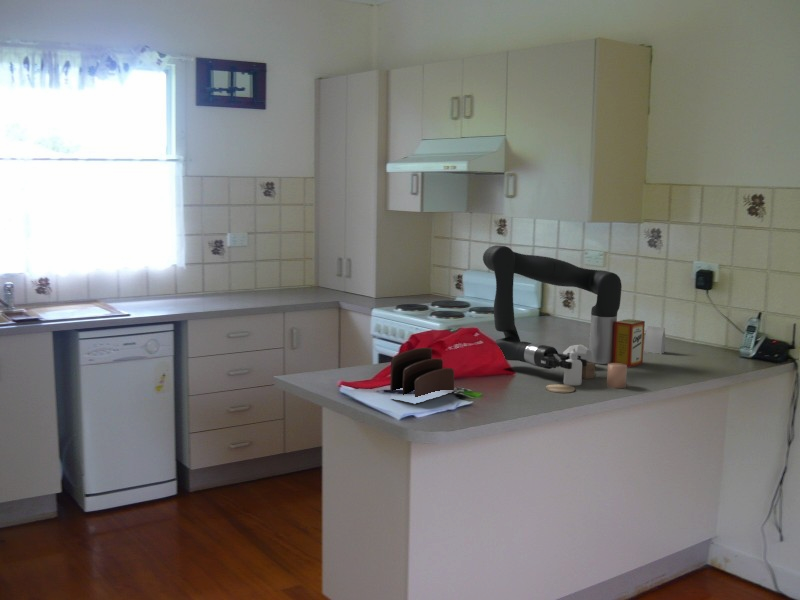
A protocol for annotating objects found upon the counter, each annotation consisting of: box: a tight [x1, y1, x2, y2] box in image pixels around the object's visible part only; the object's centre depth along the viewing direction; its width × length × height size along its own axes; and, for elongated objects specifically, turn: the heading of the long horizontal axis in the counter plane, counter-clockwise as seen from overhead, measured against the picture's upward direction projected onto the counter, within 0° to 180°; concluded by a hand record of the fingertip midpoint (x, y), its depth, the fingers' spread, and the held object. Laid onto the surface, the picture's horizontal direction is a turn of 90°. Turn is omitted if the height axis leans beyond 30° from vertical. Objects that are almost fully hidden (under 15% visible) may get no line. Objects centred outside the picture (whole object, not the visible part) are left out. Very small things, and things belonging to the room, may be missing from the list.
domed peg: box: [606, 363, 628, 389], centre depth 283 cm, size 6×6×7 cm
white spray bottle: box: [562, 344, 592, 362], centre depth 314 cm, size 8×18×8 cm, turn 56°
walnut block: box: [582, 361, 596, 380], centre depth 295 cm, size 5×5×5 cm
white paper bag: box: [643, 325, 666, 355], centre depth 338 cm, size 4×7×10 cm, turn 52°
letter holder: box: [389, 347, 455, 397], centre depth 266 cm, size 10×20×14 cm, turn 141°
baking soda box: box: [613, 318, 645, 368], centre depth 316 cm, size 10×6×16 cm
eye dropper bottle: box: [563, 348, 583, 387], centre depth 284 cm, size 4×6×12 cm
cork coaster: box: [545, 383, 575, 394], centre depth 278 cm, size 9×9×1 cm
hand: (578, 364), depth 282 cm, fingers open, 6 cm apart
